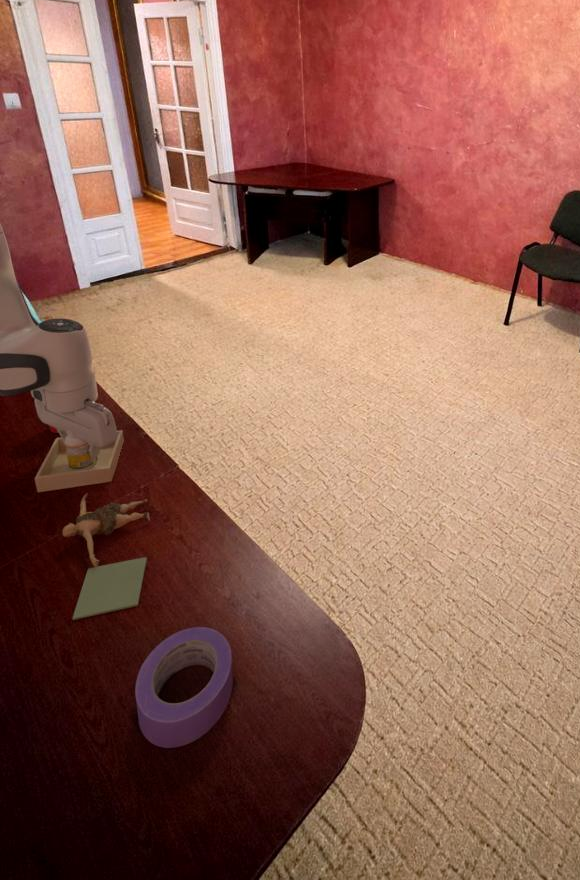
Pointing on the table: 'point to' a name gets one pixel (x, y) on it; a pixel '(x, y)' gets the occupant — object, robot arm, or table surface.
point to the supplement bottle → (78, 453)
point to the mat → (111, 588)
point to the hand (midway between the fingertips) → (81, 449)
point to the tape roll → (197, 714)
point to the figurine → (102, 521)
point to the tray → (61, 476)
